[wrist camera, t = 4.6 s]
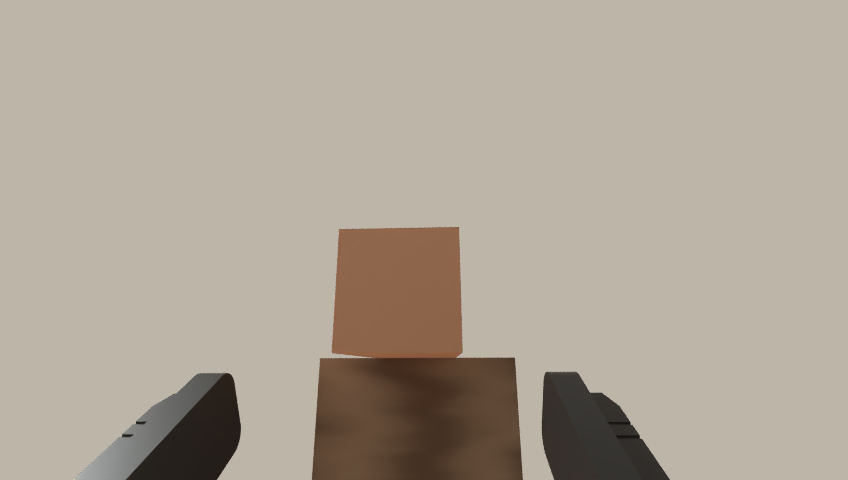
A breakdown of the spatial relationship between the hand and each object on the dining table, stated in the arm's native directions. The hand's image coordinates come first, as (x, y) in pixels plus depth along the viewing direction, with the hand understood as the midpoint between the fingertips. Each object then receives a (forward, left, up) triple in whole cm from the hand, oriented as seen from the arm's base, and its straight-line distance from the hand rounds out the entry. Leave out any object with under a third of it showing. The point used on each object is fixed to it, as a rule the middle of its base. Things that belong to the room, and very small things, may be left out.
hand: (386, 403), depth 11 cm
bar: (0, -14, +1) cm, 14 cm away
